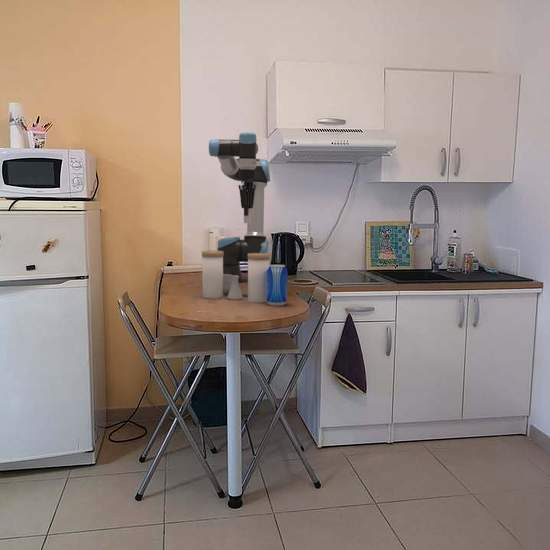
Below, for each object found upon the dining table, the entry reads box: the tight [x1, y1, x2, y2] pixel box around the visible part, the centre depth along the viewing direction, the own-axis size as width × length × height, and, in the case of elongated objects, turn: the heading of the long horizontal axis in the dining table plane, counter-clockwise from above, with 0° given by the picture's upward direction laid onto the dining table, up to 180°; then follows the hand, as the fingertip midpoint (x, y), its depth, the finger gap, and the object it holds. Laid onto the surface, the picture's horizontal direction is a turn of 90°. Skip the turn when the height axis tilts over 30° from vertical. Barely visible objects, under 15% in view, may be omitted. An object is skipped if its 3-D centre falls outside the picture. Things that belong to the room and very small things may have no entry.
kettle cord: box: [223, 292, 248, 298], centre depth 241 cm, size 25×1×1 cm, turn 67°
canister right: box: [247, 252, 271, 304], centre depth 229 cm, size 9×9×20 cm
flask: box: [226, 275, 244, 301], centre depth 234 cm, size 7×7×10 cm
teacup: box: [223, 274, 233, 293], centre depth 252 cm, size 14×11×8 cm
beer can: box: [266, 264, 288, 307], centre depth 222 cm, size 8×8×16 cm
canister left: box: [201, 250, 224, 300], centre depth 237 cm, size 9×9×20 cm
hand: (247, 223), depth 241 cm, fingers closed
